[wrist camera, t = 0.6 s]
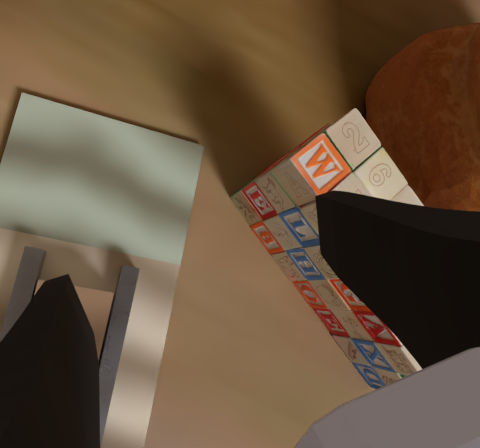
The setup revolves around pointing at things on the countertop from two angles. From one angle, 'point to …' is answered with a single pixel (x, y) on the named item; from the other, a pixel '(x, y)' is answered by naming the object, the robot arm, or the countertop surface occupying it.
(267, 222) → the stack of blocks
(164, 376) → the countertop surface
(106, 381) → the channel rails
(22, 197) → the chute board
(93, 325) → the walnut block
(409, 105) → the bread
